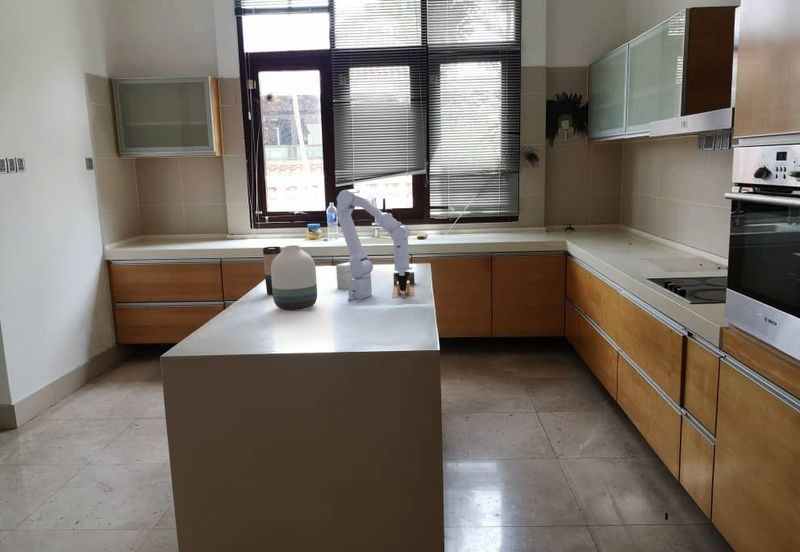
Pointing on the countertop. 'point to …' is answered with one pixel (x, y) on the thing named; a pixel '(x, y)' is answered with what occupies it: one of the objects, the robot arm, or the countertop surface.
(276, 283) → the vase
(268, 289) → the travel mug
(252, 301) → the countertop surface
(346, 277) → the small box
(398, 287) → the slider block
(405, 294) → the rail board
